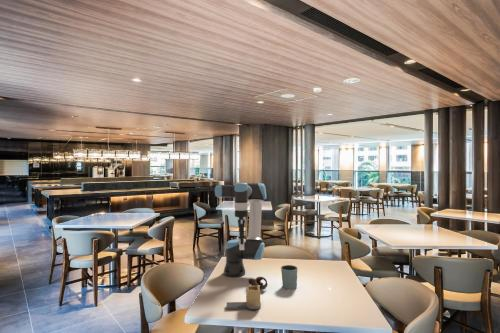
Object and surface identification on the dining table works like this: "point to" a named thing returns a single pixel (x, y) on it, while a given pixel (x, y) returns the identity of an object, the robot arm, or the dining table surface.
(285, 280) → the grey green cup
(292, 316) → the dining table surface
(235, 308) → the grey handled bowl
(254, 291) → the hollow square tube
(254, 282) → the ring-shaped clay flask
